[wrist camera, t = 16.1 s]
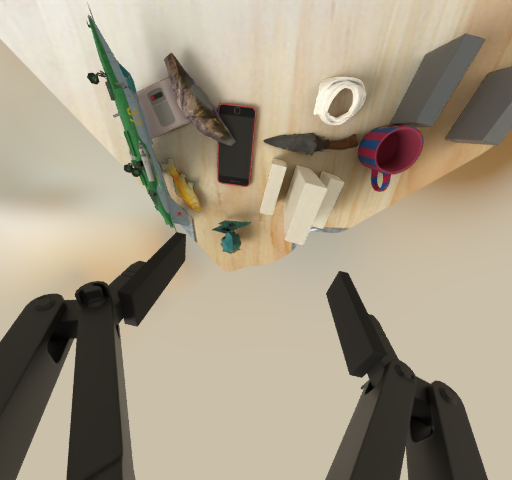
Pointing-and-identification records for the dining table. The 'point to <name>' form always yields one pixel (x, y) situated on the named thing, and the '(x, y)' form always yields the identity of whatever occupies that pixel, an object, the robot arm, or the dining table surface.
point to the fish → (182, 186)
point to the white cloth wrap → (329, 93)
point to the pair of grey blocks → (443, 85)
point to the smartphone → (236, 144)
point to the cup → (390, 151)
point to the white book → (302, 204)
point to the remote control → (160, 108)
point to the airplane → (136, 131)
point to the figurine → (230, 235)
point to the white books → (276, 181)
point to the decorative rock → (196, 103)
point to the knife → (310, 143)
